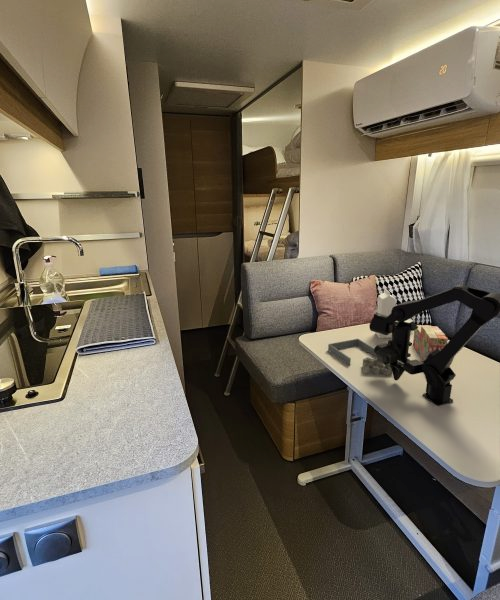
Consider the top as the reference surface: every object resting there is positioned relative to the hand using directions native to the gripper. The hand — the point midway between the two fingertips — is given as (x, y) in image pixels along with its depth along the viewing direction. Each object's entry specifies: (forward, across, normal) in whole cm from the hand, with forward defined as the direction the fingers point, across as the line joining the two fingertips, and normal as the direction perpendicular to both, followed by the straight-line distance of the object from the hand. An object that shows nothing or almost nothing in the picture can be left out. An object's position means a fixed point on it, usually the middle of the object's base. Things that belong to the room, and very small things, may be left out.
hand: (396, 379), depth 121 cm
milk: (+1, -36, +25) cm, 44 cm away
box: (+1, -24, 0) cm, 24 cm away
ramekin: (+1, -39, +37) cm, 54 cm away
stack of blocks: (+1, -13, +27) cm, 30 cm away
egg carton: (+2, -10, 0) cm, 10 cm away
